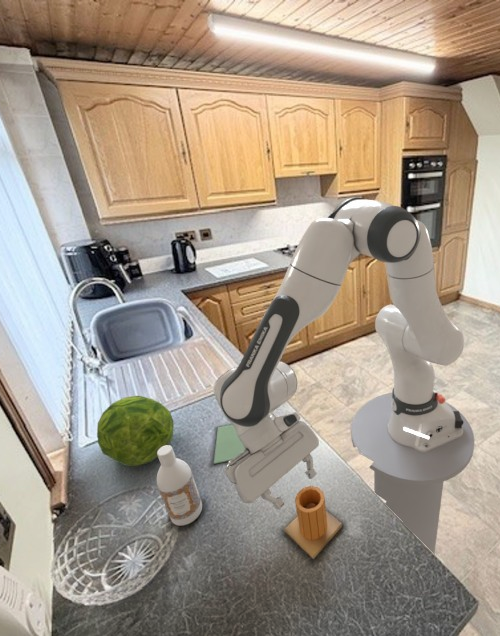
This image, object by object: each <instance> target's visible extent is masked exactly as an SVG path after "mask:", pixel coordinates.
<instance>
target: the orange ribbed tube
mask: <svg viewBox="0 0 500 636" xmlns="http://www.w3.org/2000/svg"><path fill="white" fill-rule="evenodd" d="M294 502H295V508H296V515H297V516H298V522H299V529H300V533H301V535H302V536H303V537H304V538H305V539H309V540H315V539H318V538H320V537H321V536H322V535H323V534H324V533H325V531H326V528H327V518H326V511H327V508H326V498H325V494H324V491H323V490H322V489H321V488H320V487H318V486H314V485H309V486H304V487H303V488H302V489H300V490H299V491H298V492H297V494H296V496H295V499H294ZM310 503H313V504H315V505H316V507H315V508H311V509H306V506H307V505H308V504H310ZM297 516H296V517H297Z"/></svg>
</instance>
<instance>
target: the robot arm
mask: <svg viewBox="0 0 500 636" xmlns="http://www.w3.org/2000/svg"><path fill="white" fill-rule="evenodd" d="M359 255H363V256H367V257H370V258H373V259H375V260H376V261H378V262H380V263H384V267H385V273H386V274H385V275H386V280H387V281H386V282H387V288H388V294H389V295H388V296H389V298H390V301H391V303H392V304H387V305H384V306H383V307H382V308H381V309H380V310H379V312H378V313H377V315H376V317H375V321H374V328H375V332H376V333H377V334H378V336H379V337H380V339H381V340H382V341H383V343H384V346H385V347H386V351H387V352H388V354H389V357H390V358H389V359H390V361H391V364H392V369H393V388H392V392H391V393H392V414H391V417H390V420H389V423H388V426H387V430H388V433H389V435H390V436H391V438H392V439H393V440H395V441H396V442H397V443H399V444H401V445H404V446H407V447H411V448H414V449H416V450H418V451H419V452H422V453H425V452H428V451H430V450H432V449H434V448H437V447H439V446H441V445H443V444H446V443H448V442H450V441H452V440H455V439H457V438H459V437H461V436H463V427H462V425H463V420H462V419H461V416H460V413H461V412H460V411H459V410H458V411H453V410H452V409H451V407H450V406H449V405H448V404H449V403H448V402H447V401H446V398H445V397H444V396H443V395H442V394H439V391H438V390H437V389H436V388H435V387H434V386H435V376H436V375H435V369H434V366H433V365H432V364H436V365H440V366H444V367H446V366H450V365H452V364H454V363H455V362H456V361H458V359H459V358H460V357H461V355H462V354H463V351H464V348H465V337H464V335H463V332H462V331H461V330H460V329H459V328H458V327H457V326H456V324H454V323H453V322H452V320H451V319H450V318H449V316H448V315H447V312H446V311H445V309H444V307H443V305H442V302H441V300H440V298H439V296H438V291H437V284H436V275H435V261H434V260H435V259H434V251H433V246H432V242H431V238H430V234H429V231H428V228H427V226H426V225H425V224H424V223H423V222H422V221H421V220H418V219H416V217H414V215H413V214H412V213H411V212H410V211H408V210H407V209H405V208H403V207H401V206H399V205H393V204H392V203H389V202H385V201H382V200H379V199H368V198H367V199H365V198H363V197H351V198H347V199H345V200H343V201H341V202H340V203H339V204H338V205H337V206H336V207H335V208H334V209H333V211H332V212H331V213H330V214H329V215H328V216H327V217H319V218H316V219H314V220H313V221H312V222H311V223H309V226H308V227H307V228H306V230H305V232H304V234H303V235H302V237H301V239H300V241H299V242H298V244H297V247H296V248H295V251H294V252H293V255H292V258H291V259H290V261H289V265H288V267H287V270H286V272H285V275H284V276H283V279H282V281H281V284H280V286H279V287H278V290H277V291H276V293H275V295H274V297H273V299H272V300H271V302H270V304H269V306H268V307H267V309H266V310H265V312H264V314H263V316H262V317H261V319H260V322H259V324H258V325H257V327H256V330H255V332H254V333H253V335H252V338H251V340H250V342H249V344H248V346H247V349H246V350H245V351H244V353H243V356H242V359H241V361H240V362H239V365H238V366H234V367H232V368H230V369H228V370H226V372H225V373H223V374H221V375H220V376H219V377H218V379H216V381H215V383H214V384H213V393H214V397H215V400H216V402H217V404H218V406H219V408H220V410H221V412H222V413H223V415H224V417H225V418H226V420H227V421H228V423H230V425H233V426H234V427H235V429H236V433H237V436H238V438H239V439H240V441H241V442H242V444H243V446H244V447H245V450H244V451H242V452H241V453H240V454H239V455H238V456H236V457H235V458H233V459H231V460H230V461H227V462H228V463H227V465H226V467H225V475H226V478H228V480H229V482H230V483H232V484H233V485H234V488H235V490H236V493H237V494H238V496H239V498H240V500H241V501H242V503H244V504H252V503H254V502H255V501H257V500H258V498H259V497H261V498H262V499H263V500H265V501H267V502H269V503H271V504H272V505H273V506H274V509H276V510H277V511H278V510H280V509H281V508H282V507H283V506H284V505H285V502H284V500H283V498H282V496H277V497H273V496H272V491H271V489H270V488H272V487H273V486H274V485H275V484H277V482H279V481H280V480H281V479H283V477H284V476H286V474H288V473H289V472H290V471H291V470H292V469H294V468H295V466H298V464H300V463H301V462H303V463H306V471H305V472H304V473H305V475H306V476H307V478H308V479H309V480H313V478H314V477H315V476H316V475H317V472H316V470H315V469H314V460H313V456H312V454H311V453H312V452H313V451H314V450H316V449H317V448H318V447H319V446H320V440H319V438H318V436H317V435H316V433H315V432H314V430H313V429H312V428H311V427H310V425H309V424H308V423H307V422H305V421H304V420H301V415H300V414H299V412H297V411H295V412H290V413H287V414H284V415H280V416H276V414H275V413H274V411H276V410H277V409H279V408H280V407H281V406H283V405H284V404H286V403H287V402H288V401H290V400H291V399H292V398H293V396H294V395H295V393H296V392H297V390H298V378H297V374H296V373H295V370H294V369H293V368H292V367H291V366H290V365H289V364H288V363H287V362H284V361H282V360H281V359H282V357H283V355H284V353H285V352H286V349H287V347H288V345H289V344H290V342H291V341H292V340H293V338H294V337H295V336H296V335H297V334H299V332H300V331H302V330H303V329H304V328H306V327H307V326H309V325H310V324H311V323H313V322H315V321H317V320H318V319H319V318H321V317H323V316H324V315H326V313H327V312H328V310H329V309H330V308H331V306H332V305H333V304H334V301H335V300H336V298H337V296H338V294H339V292H340V289H341V287H342V285H343V283H344V279H345V278H346V274H347V271H348V268H349V266H350V265H351V263H352V262H353V261H354V260H355V259H356V258H358V256H359ZM446 402H447V403H448V404H447V403H446ZM459 412H460V413H459ZM258 423H259V424H258ZM255 425H256V426H255ZM252 427H253V428H252ZM242 434H243V435H242ZM239 436H240V437H239Z"/></svg>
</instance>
